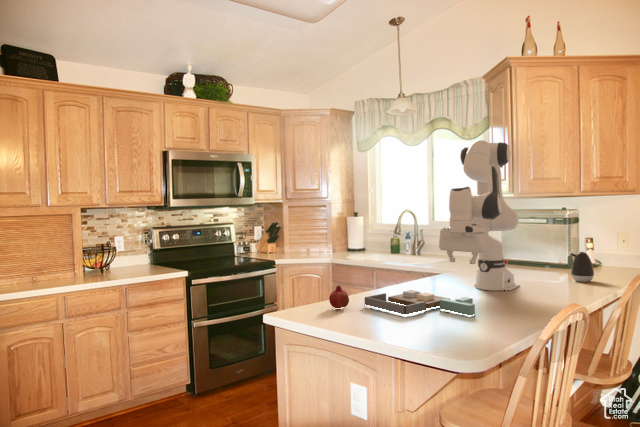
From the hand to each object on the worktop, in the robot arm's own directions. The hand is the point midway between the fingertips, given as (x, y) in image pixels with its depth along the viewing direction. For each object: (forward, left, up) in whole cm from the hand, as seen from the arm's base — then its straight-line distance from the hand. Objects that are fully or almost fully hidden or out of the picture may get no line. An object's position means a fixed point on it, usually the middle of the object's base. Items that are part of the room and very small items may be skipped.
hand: (462, 263), depth 173 cm
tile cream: (+4, -16, -16) cm, 23 cm away
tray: (+18, -20, -19) cm, 33 cm away
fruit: (+34, -36, -19) cm, 53 cm away
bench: (+4, -20, -19) cm, 28 cm away
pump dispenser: (-95, +1, -19) cm, 97 cm away
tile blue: (+4, -24, -16) cm, 29 cm away
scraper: (+2, 0, -19) cm, 19 cm away
